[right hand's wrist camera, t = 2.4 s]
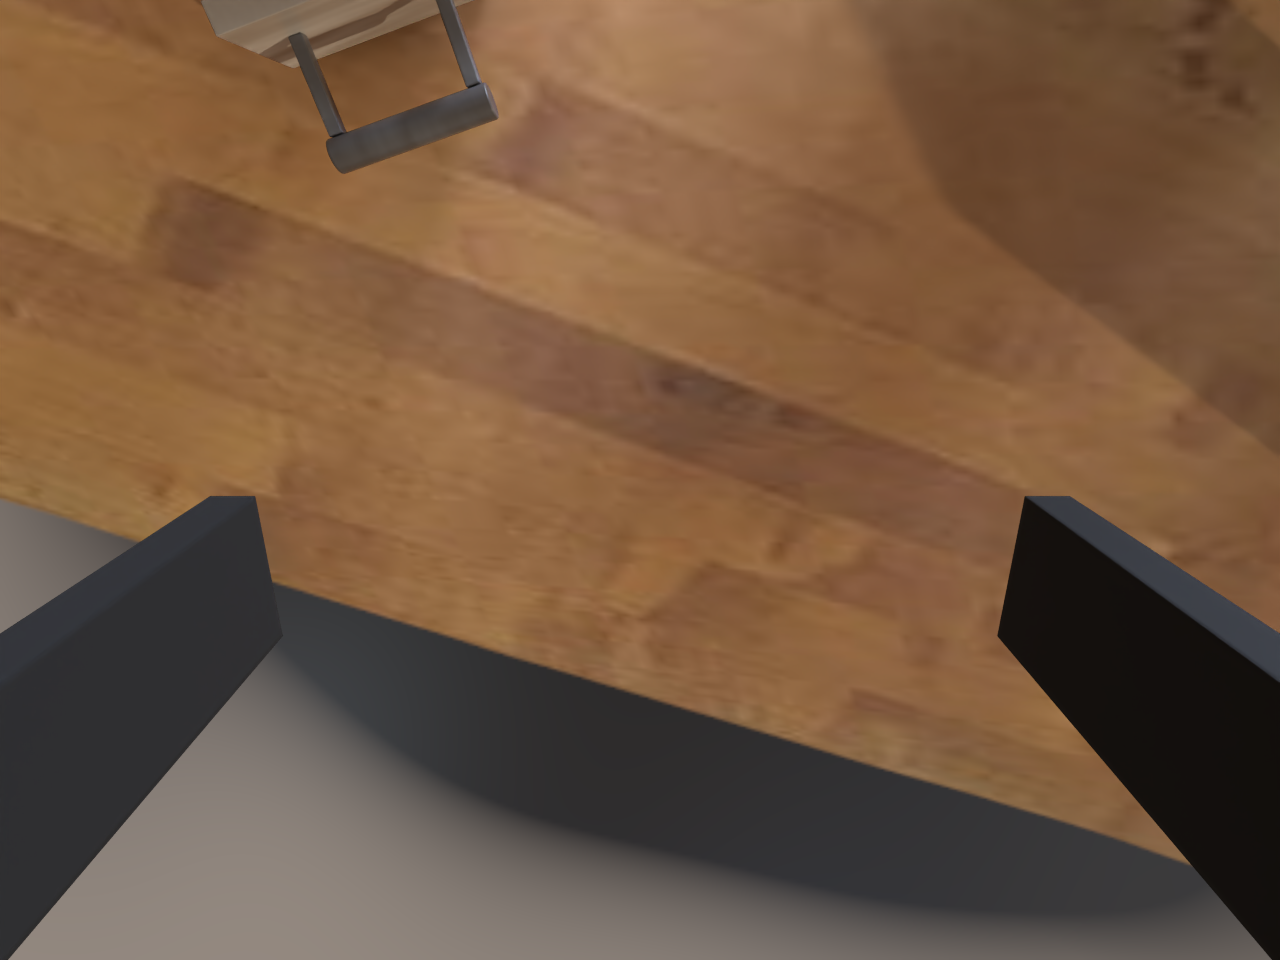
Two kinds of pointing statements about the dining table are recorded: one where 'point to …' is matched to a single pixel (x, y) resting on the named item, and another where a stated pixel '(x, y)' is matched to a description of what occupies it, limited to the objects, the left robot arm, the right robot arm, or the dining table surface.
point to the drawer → (335, 20)
